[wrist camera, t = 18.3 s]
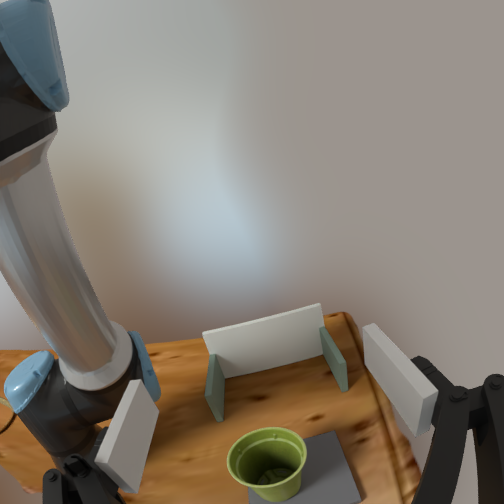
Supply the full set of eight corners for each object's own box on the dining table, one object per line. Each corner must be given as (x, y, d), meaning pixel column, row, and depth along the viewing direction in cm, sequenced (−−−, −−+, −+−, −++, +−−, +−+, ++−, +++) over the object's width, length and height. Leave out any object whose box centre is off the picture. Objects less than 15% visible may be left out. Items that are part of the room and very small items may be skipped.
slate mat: (361, 502, 23) (361, 499, 22) (252, 526, 23) (250, 524, 22) (335, 433, 36) (334, 430, 36) (247, 454, 36) (245, 451, 36)
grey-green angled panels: (348, 390, 45) (343, 337, 42) (217, 422, 45) (194, 374, 42) (326, 349, 59) (319, 302, 57) (219, 376, 59) (202, 331, 57)
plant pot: (317, 459, 31) (311, 425, 29) (308, 513, 23) (300, 489, 21) (255, 458, 34) (239, 425, 32) (237, 508, 26) (215, 481, 24)
